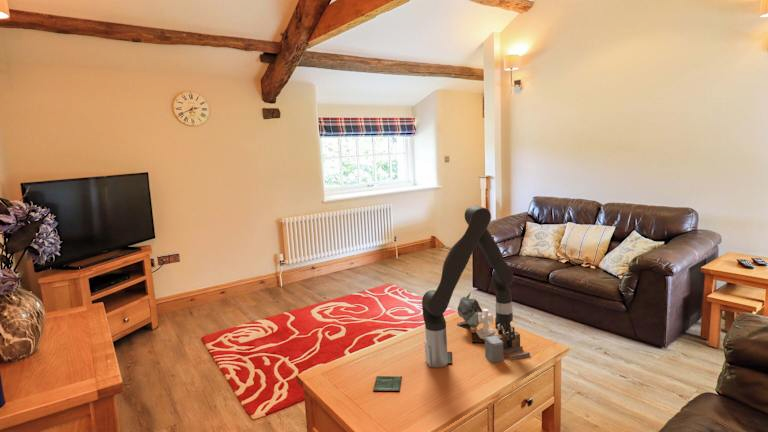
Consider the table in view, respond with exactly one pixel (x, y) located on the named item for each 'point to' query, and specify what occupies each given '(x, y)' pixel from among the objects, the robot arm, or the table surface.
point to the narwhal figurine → (469, 312)
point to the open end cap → (516, 354)
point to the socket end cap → (494, 349)
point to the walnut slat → (514, 342)
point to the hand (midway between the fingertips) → (505, 343)
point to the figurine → (485, 324)
